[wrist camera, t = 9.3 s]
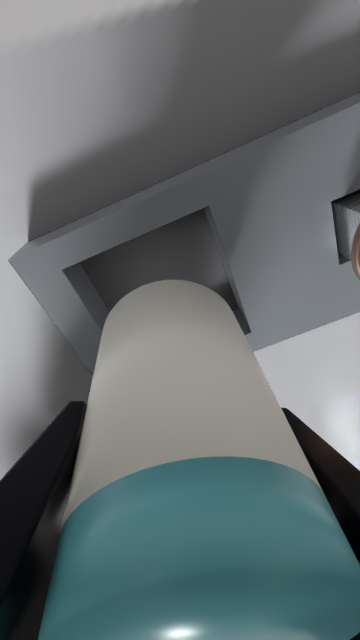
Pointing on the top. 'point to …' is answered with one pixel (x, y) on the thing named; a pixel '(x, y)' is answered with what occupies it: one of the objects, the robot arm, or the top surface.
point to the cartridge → (193, 493)
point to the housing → (228, 233)
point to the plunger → (348, 227)
